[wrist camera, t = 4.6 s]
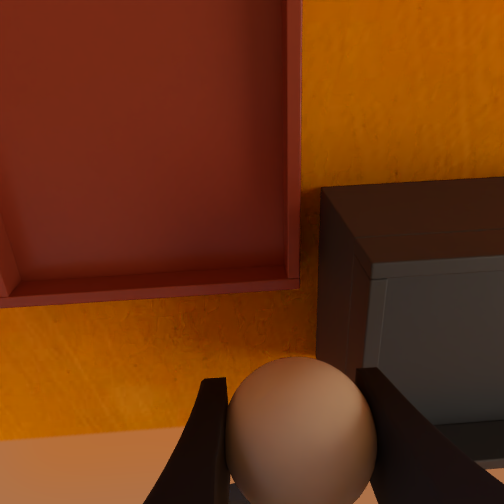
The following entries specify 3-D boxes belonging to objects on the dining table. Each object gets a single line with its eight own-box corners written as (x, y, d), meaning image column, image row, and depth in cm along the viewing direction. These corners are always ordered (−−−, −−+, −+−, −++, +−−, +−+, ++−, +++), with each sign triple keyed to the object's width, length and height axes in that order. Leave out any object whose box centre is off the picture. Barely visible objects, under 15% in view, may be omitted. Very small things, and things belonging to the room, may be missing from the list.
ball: (376, 390, 14) (430, 515, 10) (270, 446, 14) (285, 580, 11) (310, 303, 12) (346, 415, 8) (195, 371, 13) (184, 499, 9)
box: (520, 341, 26) (635, 458, 18) (315, 355, 25) (351, 481, 18) (568, 172, 21) (745, 239, 14) (320, 186, 21) (371, 263, 14)
